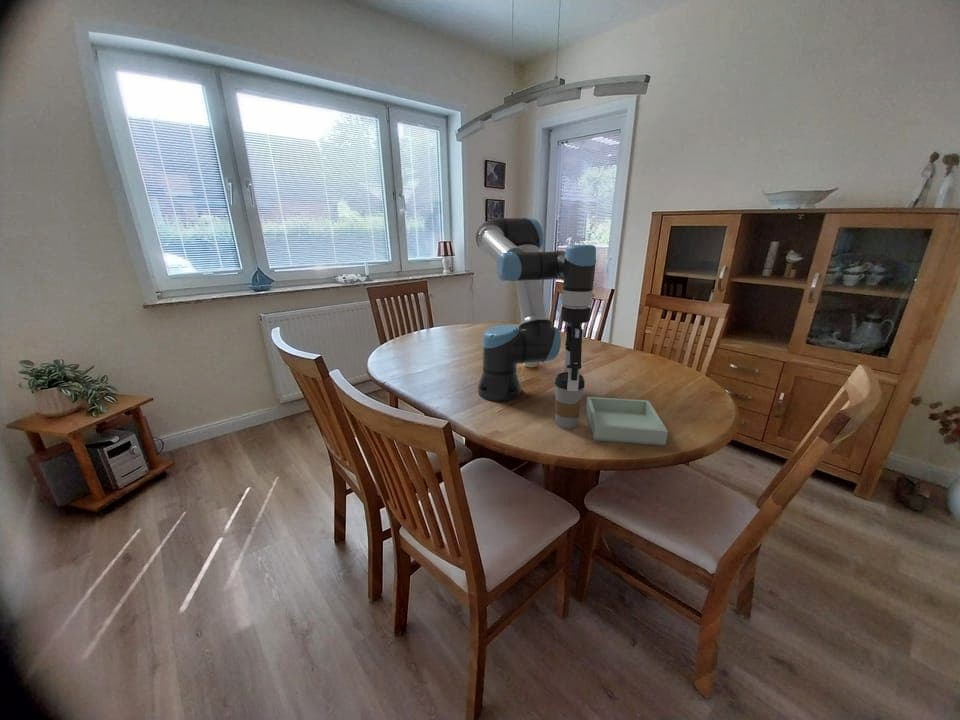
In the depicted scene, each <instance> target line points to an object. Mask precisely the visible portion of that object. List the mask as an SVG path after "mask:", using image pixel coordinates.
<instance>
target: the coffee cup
mask: <svg viewBox="0 0 960 720" xmlns="http://www.w3.org/2000/svg"><path fill="white" fill-rule="evenodd" d="M568 373H569V372H564V371H563V372H560V373H558V374H557V375H556V377H555V379H554V380H555V381H554V385H555V387H554V388H555V394H554V411H555V412H554V414H555V423H556V425H557V426H558V427H560V428H562V429H574V428H576V426H577V425H578V423H579V417H580V412H581V407H582V400H583V394H584V389H585V380H584V376H583V375H581V374H580V373H579V384H578V391H567V385H568Z"/></svg>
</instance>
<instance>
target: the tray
mask: <svg viewBox="0 0 960 720" xmlns="http://www.w3.org/2000/svg"><path fill="white" fill-rule="evenodd" d="M585 405H586V406H585V411H586V415H587V420H588V423H589V427H590V430H591V431H590V432H591V436H592V440H593V441H595V442H596V441H598V442H607V443H608V442H609V443H611V442H612V443H623V444H624V443H625V444H633V445H635V444H637V445H649V446H662V447H666V444H667V439H668V435H669V430H668V429H667V428H666V426H665V424H664V423H663V421H662V419H661V418H660V417H659V415H658V413H657V411H656V410H655V408H654V407H653V405H652V404H651V402H650V401H649V400H648V399H647V400H646V399H633V398H632V399H629V398H617V397H615V398H614V397H613V398H612V397H600V396H599V397H597V396H586V404H585Z"/></svg>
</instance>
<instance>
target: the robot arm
mask: <svg viewBox="0 0 960 720" xmlns="http://www.w3.org/2000/svg"><path fill="white" fill-rule="evenodd" d="M542 229H543V228H542V225H541V224H540V222H539V221H538V220H537V219H535V218H533V217H532V218H531V217H530V218H529V217H522V218H521V217H520V218H519V217H517V218H516V217H494V218H491V219H488V220H486V221H485V222H483V223H482V224H481V225H479V227H478V229H477V232H476V234H475V241H476V245H477V247H478V249H480V250H481V251H482V252H483V253H485V254H488V255H489V256H490V257H491V258H492V259H493V260H494V261H495V262H496V273H497V276H498V279H499V280H501V281H503V282H515V285H516V291H517V292H516V293H517V297H518V299H517V300H518V304H519V305H518V306H519V311H520V317H521V322H520V323H519V325H518V326H515V325H514V324H513V325H511V324H508V325H507V324H501V325H496V326H493V327H489V328H488V329H486V330H485V331H484V333H483V334H482V335H483V336H482V344H481V345H482V373H481V376H480V379H479V383H478V385H477V393H478V396H480V397H481V398H483V399H485V400H487V401H494V402H506V401H510V400H511V401H512V400H516V399H517V398H518V397H520V396H521V392H522V391H521V390H522V386H521V383H520V379H519V376H518V373H517V365H519V364H529V363H544V362H548V361H554V359H556V358H557V357H558V355H559V353H560V351H561V346H562V345H561V344H562V336H561V332H560V329H559V328H558V327H555V326H553V323H552V320H551V319H550V318H548V317H547V314H546V309H545V302H544V297H543V291H542V285H541V284H542V283H541V281H544V280H545V281H546V280H561V281H562V280H563V283H562V297H561V304H562V307H561V313H560V318H561V320H562V322H564V323H567V326H566V339H565V344H564V345H565V347H564V348H565V351H564V352H565V354H564V368H563V372H569V373H568V385H567V391H578V384H579V374H580V372H581V371H580V370H581V369H582V352H583V351H582V345H583V344H582V343H583V333H584V329H583V327H582V326H581V325H582V324H586V323H589V322H590V321H591V315H592V314H591V313H592V308H591V306H592V304H593V303H592V301H593V299H592V298H595V296H596V295H595V293H593V290H594V284H595V283H594V281H595V271H596V263H597V248H596V245H592V244H569V245H567V246H566V248H565V250H554V251H540V250H541V248H542V247H543V243H544V241H543V238H544V233H543V230H542Z"/></svg>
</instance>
